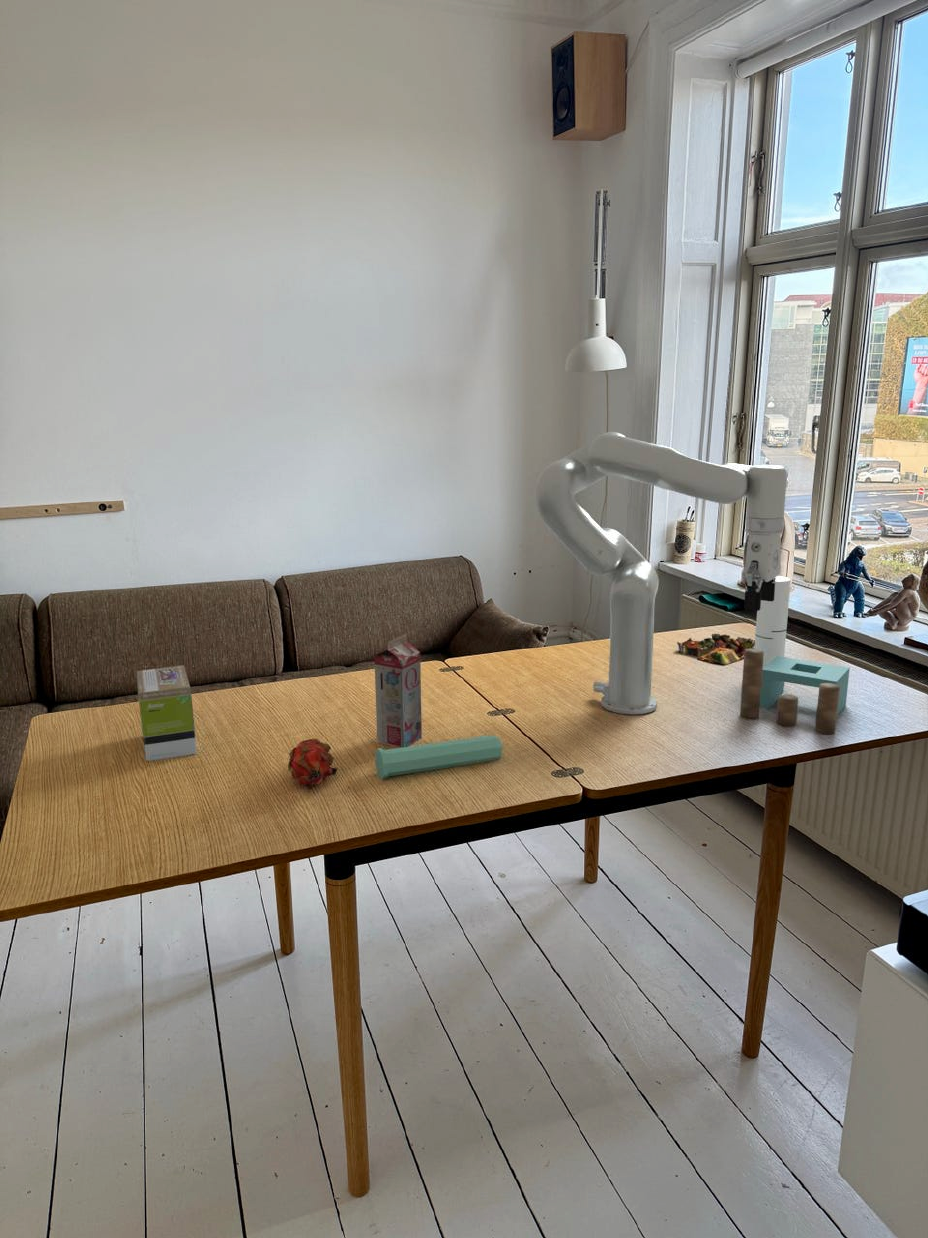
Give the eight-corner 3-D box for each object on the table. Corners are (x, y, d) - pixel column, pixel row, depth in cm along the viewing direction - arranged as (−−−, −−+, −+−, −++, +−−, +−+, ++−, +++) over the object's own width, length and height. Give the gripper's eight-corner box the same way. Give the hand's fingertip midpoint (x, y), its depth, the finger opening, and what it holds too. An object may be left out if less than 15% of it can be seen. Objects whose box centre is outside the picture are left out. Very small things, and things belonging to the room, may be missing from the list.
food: (715, 639, 266) (716, 627, 265) (773, 654, 252) (774, 641, 251) (667, 653, 252) (668, 641, 251) (726, 670, 238) (727, 657, 237)
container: (498, 725, 184) (376, 742, 175) (509, 746, 179) (385, 764, 170) (493, 747, 187) (373, 764, 178) (503, 767, 183) (382, 786, 174)
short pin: (774, 724, 199) (776, 698, 198) (779, 719, 202) (781, 693, 201) (793, 728, 197) (795, 701, 195) (798, 722, 200) (800, 696, 199)
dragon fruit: (312, 774, 180) (320, 809, 169) (275, 756, 176) (280, 790, 165) (337, 740, 178) (347, 774, 168) (300, 721, 175) (307, 754, 164)
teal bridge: (759, 707, 210) (762, 669, 207) (774, 692, 219) (777, 656, 217) (832, 721, 201) (836, 681, 199) (845, 705, 210) (849, 667, 208)
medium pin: (812, 732, 195) (817, 686, 192) (817, 726, 198) (822, 681, 195) (832, 736, 193) (837, 690, 190) (837, 730, 196) (842, 685, 193)
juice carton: (421, 738, 193) (419, 636, 188) (403, 748, 188) (401, 644, 182) (395, 732, 196) (392, 632, 191) (377, 742, 191) (373, 639, 185)
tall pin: (737, 717, 203) (742, 652, 200) (743, 712, 207) (747, 647, 203) (755, 721, 201) (760, 654, 198) (761, 715, 205) (766, 650, 201)
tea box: (142, 736, 196) (135, 669, 192) (191, 729, 199) (185, 663, 195) (145, 762, 182) (137, 691, 178) (198, 755, 185) (192, 685, 182)
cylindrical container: (786, 681, 227) (794, 581, 221) (756, 681, 227) (764, 581, 221) (777, 672, 234) (785, 575, 228) (748, 672, 234) (756, 575, 228)
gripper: (770, 532, 184) (764, 616, 189) (794, 521, 198) (788, 599, 202) (732, 529, 188) (728, 611, 193) (759, 518, 202) (754, 595, 206)
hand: (759, 605), depth 198 cm, fingers open, 9 cm apart
